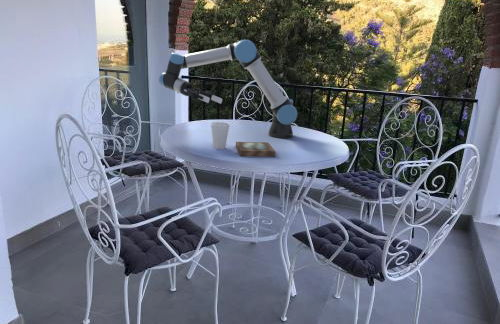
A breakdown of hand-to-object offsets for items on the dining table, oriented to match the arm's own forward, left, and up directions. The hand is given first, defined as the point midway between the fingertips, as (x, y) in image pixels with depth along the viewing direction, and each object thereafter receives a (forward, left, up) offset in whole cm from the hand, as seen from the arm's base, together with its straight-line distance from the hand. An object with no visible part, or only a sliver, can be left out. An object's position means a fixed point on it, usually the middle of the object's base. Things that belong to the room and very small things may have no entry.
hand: (215, 100), depth 219 cm
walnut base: (-20, +14, -24) cm, 34 cm away
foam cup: (-2, +7, -24) cm, 25 cm away
